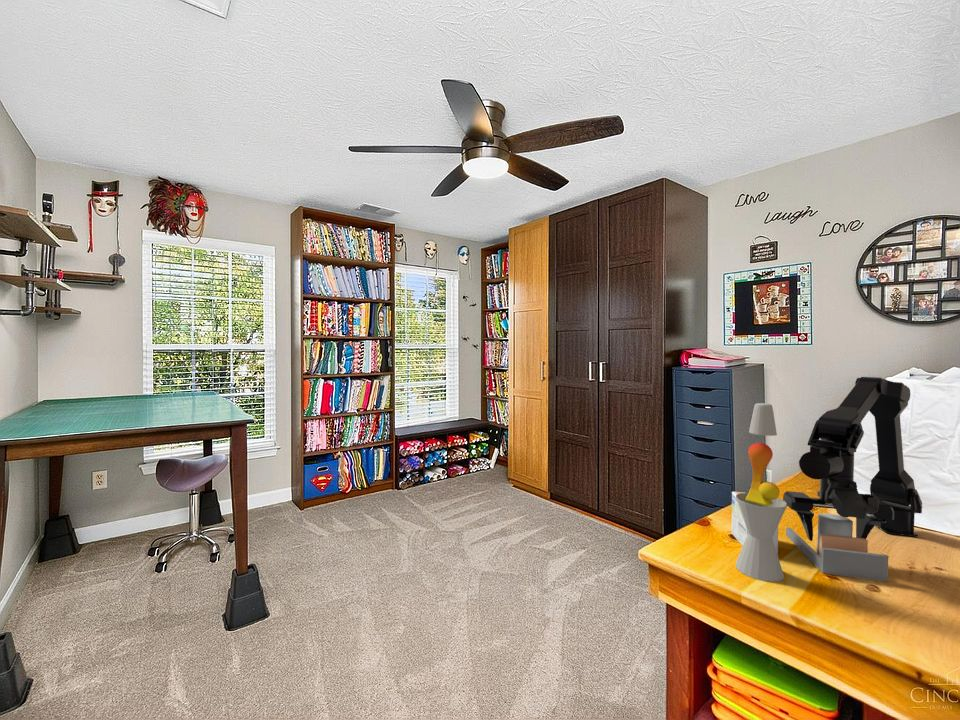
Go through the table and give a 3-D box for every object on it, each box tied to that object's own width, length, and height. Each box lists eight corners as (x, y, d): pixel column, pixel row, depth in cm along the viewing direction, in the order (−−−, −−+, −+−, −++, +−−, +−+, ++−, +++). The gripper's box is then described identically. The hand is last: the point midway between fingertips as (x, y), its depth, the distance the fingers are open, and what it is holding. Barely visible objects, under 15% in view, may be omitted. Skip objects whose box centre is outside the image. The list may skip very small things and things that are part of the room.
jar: (842, 554, 101) (844, 515, 100) (857, 566, 95) (858, 525, 95) (812, 550, 102) (813, 512, 102) (824, 562, 96) (825, 521, 96)
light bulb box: (778, 554, 100) (780, 507, 100) (746, 551, 101) (747, 505, 101) (759, 535, 110) (760, 492, 110) (729, 533, 112) (730, 490, 112)
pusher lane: (837, 540, 108) (838, 520, 108) (887, 581, 89) (888, 556, 89) (785, 535, 111) (786, 515, 111) (822, 573, 92) (823, 549, 92)
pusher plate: (863, 566, 94) (864, 538, 94) (867, 569, 93) (867, 540, 93) (818, 560, 97) (819, 533, 96) (821, 563, 95) (822, 535, 95)
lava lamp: (726, 568, 93) (730, 402, 92) (744, 556, 99) (748, 400, 98) (775, 587, 86) (780, 407, 85) (792, 573, 92) (796, 404, 91)
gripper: (803, 479, 93) (800, 552, 93) (912, 488, 88) (909, 566, 88) (782, 466, 104) (781, 532, 104) (879, 473, 98) (877, 543, 99)
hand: (834, 543), depth 98 cm, fingers open, 9 cm apart
